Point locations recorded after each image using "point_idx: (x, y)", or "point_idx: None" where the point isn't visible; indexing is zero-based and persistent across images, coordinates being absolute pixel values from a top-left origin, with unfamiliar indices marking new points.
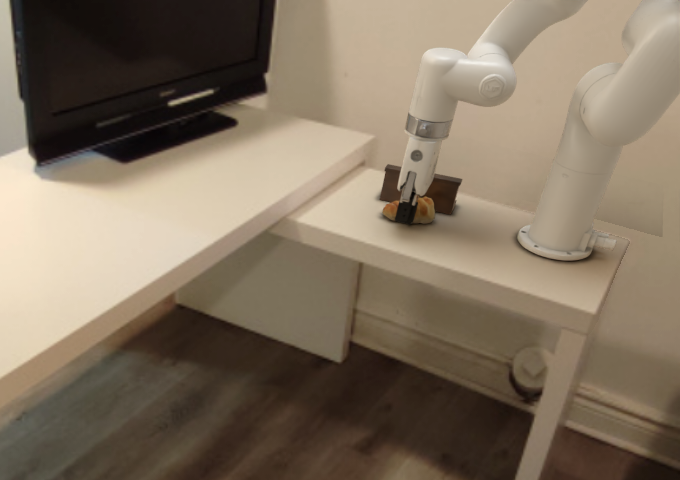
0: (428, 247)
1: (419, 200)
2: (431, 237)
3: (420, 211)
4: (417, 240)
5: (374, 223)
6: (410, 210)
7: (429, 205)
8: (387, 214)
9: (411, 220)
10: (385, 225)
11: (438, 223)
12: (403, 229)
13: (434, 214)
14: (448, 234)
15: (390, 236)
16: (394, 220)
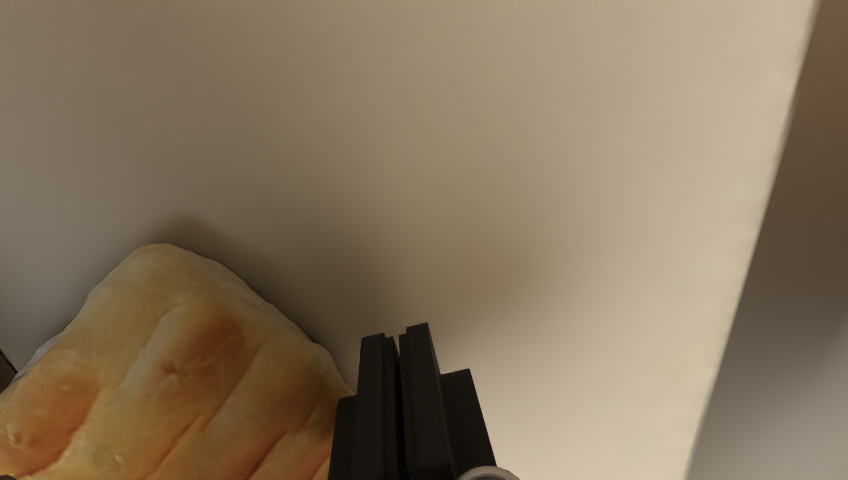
0: (586, 71)
1: (133, 474)
2: (405, 129)
3: (242, 370)
4: (522, 189)
5: None
6: (461, 434)
7: (103, 373)
8: None
9: (430, 345)
10: None
11: (127, 196)
12: None
13: (125, 270)
14: (242, 35)
15: (569, 336)
16: None
